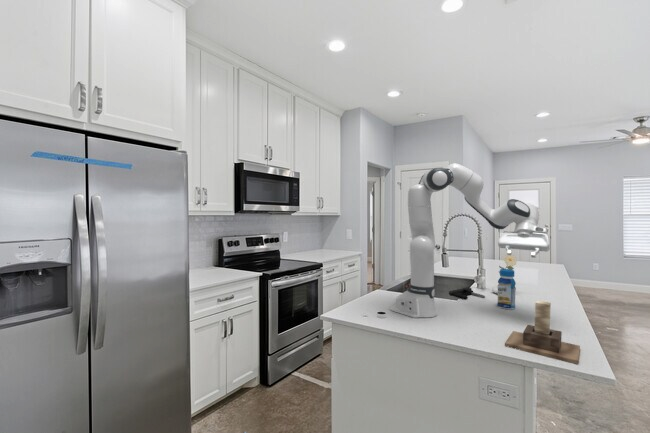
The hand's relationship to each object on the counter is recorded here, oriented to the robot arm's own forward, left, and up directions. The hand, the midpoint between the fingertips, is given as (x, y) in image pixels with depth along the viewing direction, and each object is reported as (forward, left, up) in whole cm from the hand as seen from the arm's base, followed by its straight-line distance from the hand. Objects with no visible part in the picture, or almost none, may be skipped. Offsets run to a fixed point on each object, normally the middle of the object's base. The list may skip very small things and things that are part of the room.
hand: (520, 255), depth 145 cm
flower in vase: (-17, +56, -32) cm, 66 cm away
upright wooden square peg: (+11, -21, -28) cm, 37 cm away
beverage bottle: (-10, +26, -32) cm, 42 cm away
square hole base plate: (+11, -21, -31) cm, 40 cm away
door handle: (-32, +36, -32) cm, 58 cm away
